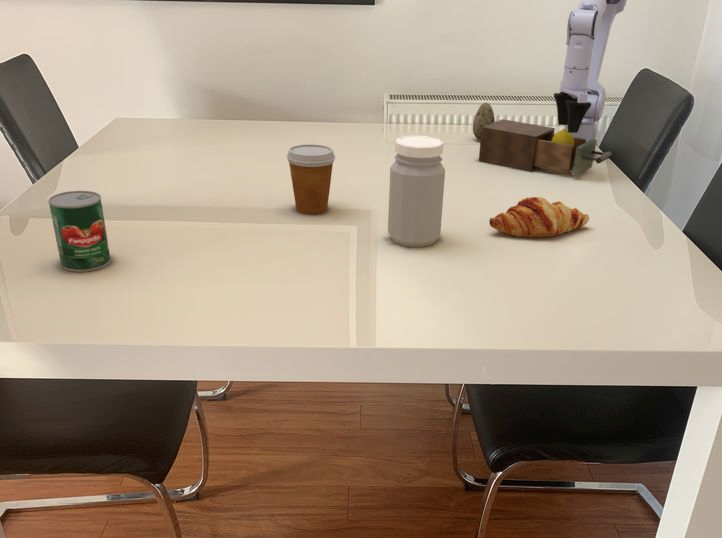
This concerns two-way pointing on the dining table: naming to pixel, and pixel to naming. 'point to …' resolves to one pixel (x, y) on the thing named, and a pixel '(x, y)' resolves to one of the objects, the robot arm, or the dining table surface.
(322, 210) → the disposable coffee cup
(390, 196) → the jar
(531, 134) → the cabinet
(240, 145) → the dining table surface
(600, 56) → the robot arm
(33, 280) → the dining table surface
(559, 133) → the lemon
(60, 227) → the canned tomato
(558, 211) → the croissant
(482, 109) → the decorative egg
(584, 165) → the drawer
